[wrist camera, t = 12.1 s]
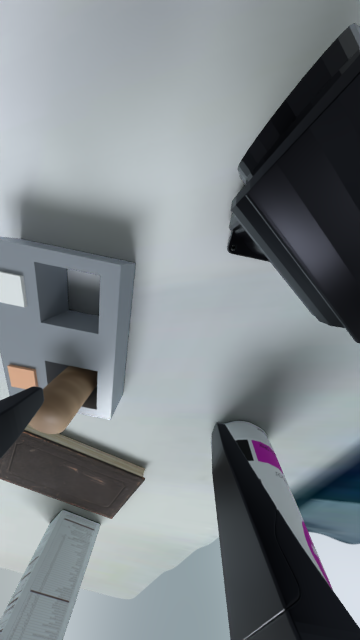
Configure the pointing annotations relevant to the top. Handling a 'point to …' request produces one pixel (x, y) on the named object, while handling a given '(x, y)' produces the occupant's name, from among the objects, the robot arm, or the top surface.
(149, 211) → the top surface
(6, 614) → the supplement box
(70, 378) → the walnut peg
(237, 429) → the supplement can
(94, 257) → the socket block
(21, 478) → the hardcover book
